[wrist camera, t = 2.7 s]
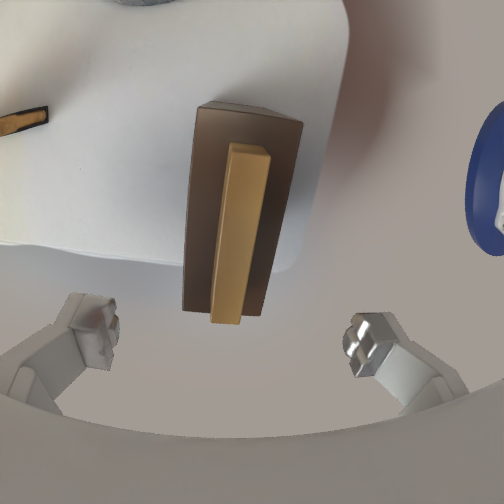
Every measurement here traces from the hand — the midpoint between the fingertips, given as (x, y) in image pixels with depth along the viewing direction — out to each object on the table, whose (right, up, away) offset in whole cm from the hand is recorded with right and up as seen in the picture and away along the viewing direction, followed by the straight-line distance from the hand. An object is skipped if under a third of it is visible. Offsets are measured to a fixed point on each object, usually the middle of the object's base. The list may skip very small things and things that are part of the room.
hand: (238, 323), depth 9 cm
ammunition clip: (-25, +16, +11) cm, 32 cm away
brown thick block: (-2, +10, +17) cm, 20 cm away
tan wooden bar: (-1, +4, +6) cm, 7 cm away
